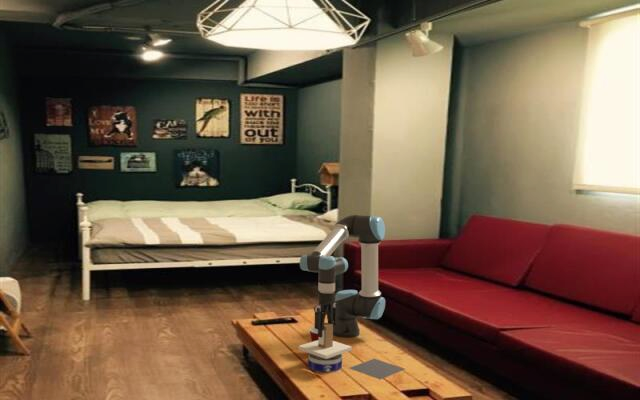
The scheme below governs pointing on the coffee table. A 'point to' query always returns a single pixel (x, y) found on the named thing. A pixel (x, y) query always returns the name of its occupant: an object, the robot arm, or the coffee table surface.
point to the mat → (377, 368)
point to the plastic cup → (313, 334)
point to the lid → (326, 345)
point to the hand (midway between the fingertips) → (325, 342)
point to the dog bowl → (324, 363)
